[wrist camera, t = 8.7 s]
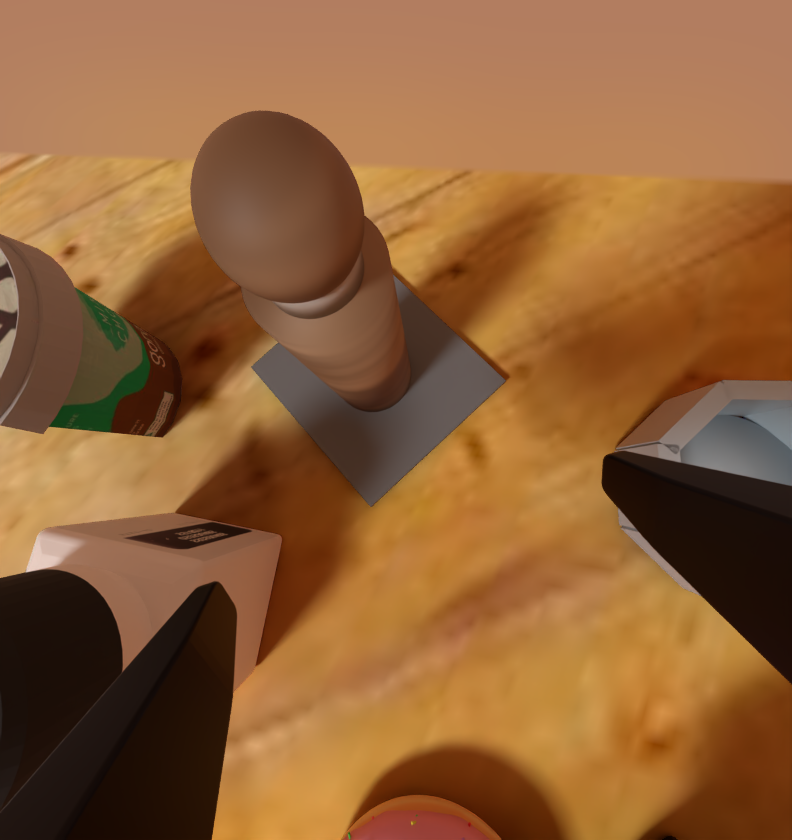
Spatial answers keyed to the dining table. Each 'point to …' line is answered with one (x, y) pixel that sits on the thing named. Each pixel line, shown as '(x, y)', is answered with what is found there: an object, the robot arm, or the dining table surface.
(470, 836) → the doughnut
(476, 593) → the dining table surface
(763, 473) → the bowl
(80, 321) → the food container
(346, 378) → the pepper mill
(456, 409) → the mat
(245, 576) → the container
